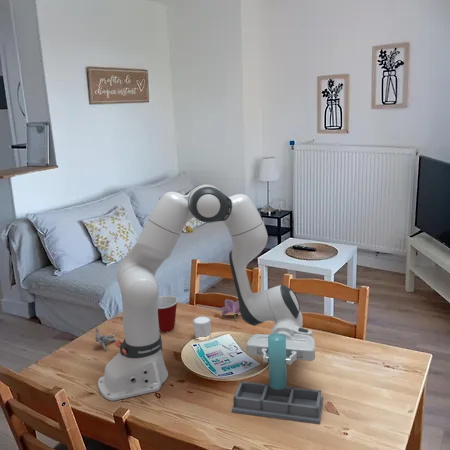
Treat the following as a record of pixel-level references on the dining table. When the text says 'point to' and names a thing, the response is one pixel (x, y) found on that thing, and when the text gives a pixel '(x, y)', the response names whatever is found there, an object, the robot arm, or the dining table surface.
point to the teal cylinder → (277, 361)
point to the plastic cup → (167, 312)
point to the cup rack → (278, 402)
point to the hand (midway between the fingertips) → (276, 361)
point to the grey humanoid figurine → (104, 339)
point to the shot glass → (202, 326)
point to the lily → (230, 307)
